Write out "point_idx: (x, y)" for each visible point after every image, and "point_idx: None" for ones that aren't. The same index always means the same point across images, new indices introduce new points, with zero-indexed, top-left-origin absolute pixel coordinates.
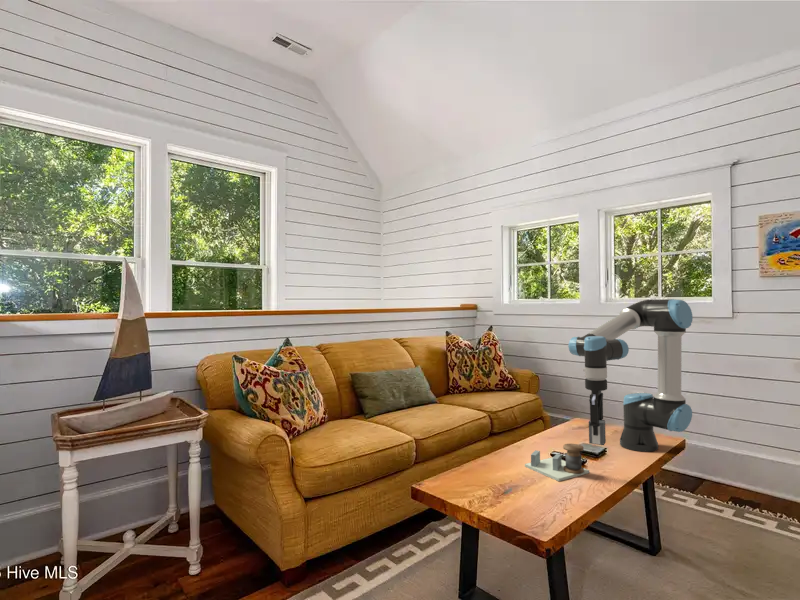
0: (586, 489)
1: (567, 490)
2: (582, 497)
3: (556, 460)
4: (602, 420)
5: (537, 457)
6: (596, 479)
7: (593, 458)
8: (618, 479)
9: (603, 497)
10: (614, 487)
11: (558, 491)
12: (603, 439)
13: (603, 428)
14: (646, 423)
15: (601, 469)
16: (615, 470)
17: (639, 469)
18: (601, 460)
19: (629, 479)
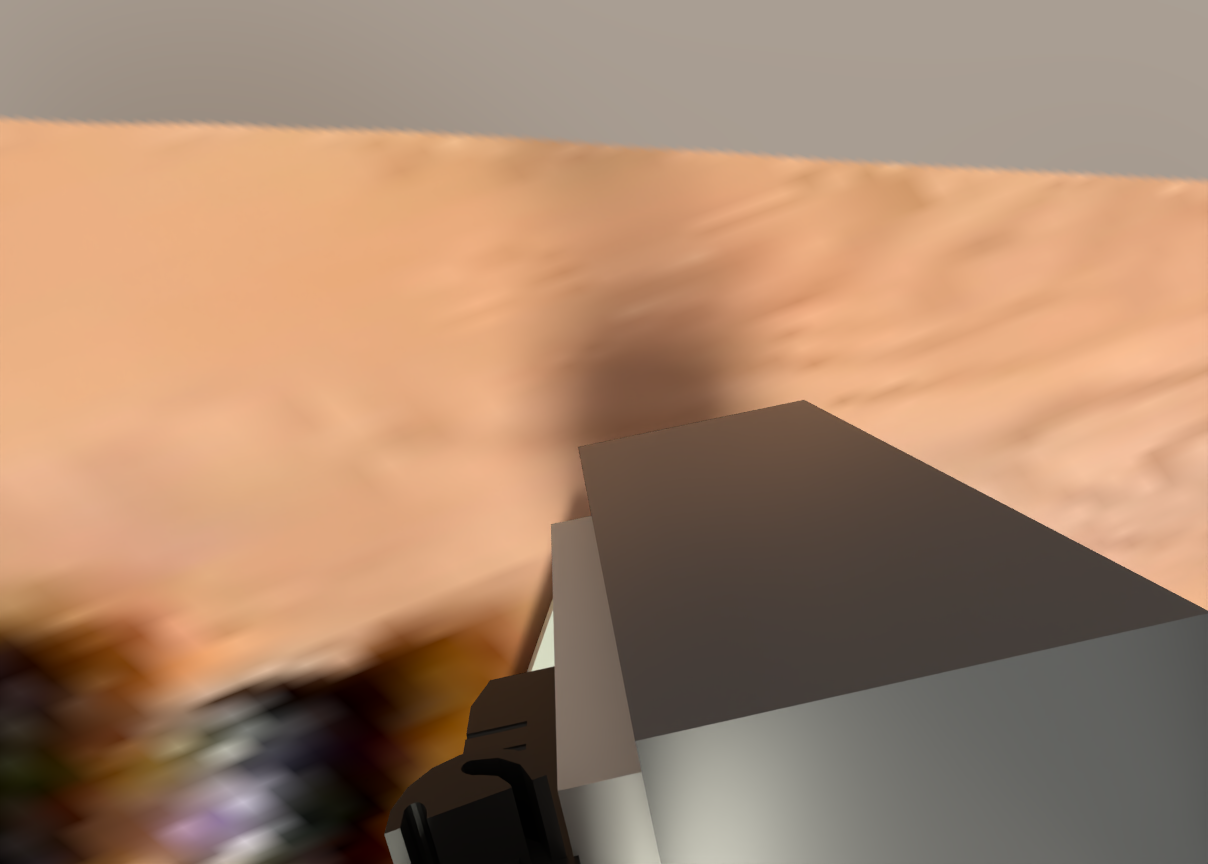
0: (996, 384)
1: (1111, 502)
2: (1195, 338)
3: None
4: (680, 845)
5: None
6: (690, 409)
7: (100, 670)
8: (542, 233)
9: (1098, 186)
10: (790, 189)
11: (1172, 549)
12: (857, 429)
13: (1008, 522)
14: None
15: (374, 478)
16: (294, 353)
17: (48, 144)
18: (94, 584)
19: (461, 136)
